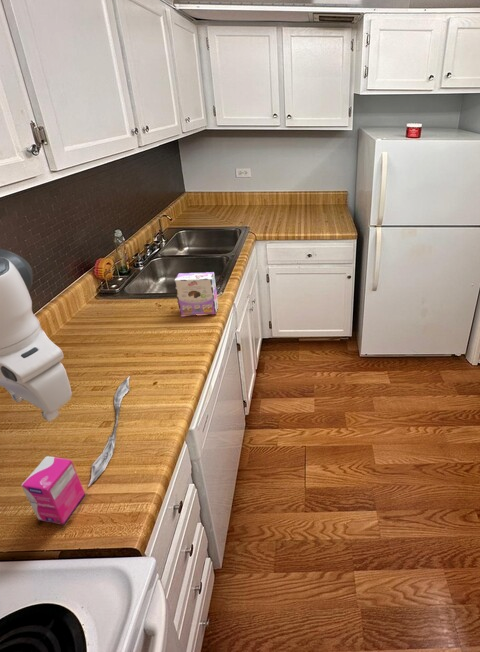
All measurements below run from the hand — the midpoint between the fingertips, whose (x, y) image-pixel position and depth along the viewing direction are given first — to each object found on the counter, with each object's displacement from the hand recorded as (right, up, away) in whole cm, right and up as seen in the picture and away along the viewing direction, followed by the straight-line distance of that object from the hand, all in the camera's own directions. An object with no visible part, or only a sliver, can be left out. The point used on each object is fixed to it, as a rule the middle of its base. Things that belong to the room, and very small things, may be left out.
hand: (36, 407), depth 61 cm
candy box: (+5, 0, +70) cm, 71 cm away
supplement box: (0, -25, +7) cm, 26 cm away
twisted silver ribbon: (-1, -17, +25) cm, 31 cm away
